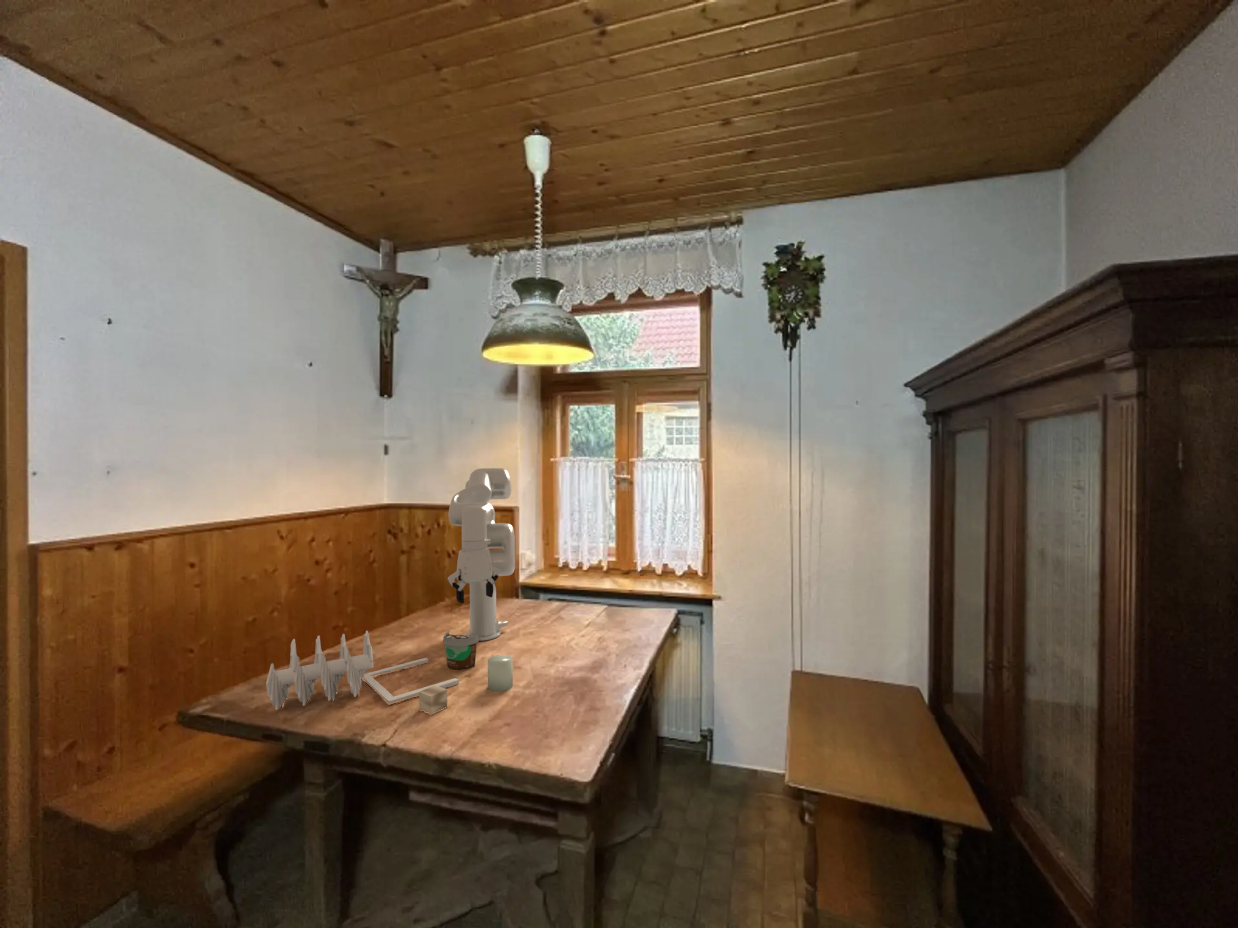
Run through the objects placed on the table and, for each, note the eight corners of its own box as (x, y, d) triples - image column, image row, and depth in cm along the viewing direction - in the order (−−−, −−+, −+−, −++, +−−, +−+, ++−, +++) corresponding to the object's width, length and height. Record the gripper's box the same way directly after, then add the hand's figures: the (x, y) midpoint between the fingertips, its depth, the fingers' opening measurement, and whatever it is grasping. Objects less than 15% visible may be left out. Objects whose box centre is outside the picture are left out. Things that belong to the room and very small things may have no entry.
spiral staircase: (276, 716, 145) (376, 694, 155) (261, 714, 131) (372, 691, 141) (277, 647, 152) (372, 631, 162) (263, 638, 137) (369, 621, 147)
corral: (425, 661, 174) (425, 657, 174) (458, 683, 156) (458, 679, 156) (360, 678, 160) (360, 674, 160) (388, 705, 142) (388, 701, 142)
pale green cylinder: (504, 679, 159) (504, 652, 159) (517, 686, 154) (517, 659, 154) (483, 686, 154) (483, 659, 154) (495, 694, 149) (495, 665, 149)
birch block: (434, 703, 144) (434, 684, 144) (447, 707, 141) (446, 689, 141) (419, 710, 140) (418, 691, 140) (431, 715, 137) (431, 696, 137)
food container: (434, 668, 168) (434, 637, 168) (447, 661, 173) (447, 631, 173) (466, 674, 163) (466, 641, 163) (478, 666, 169) (478, 635, 169)
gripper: (493, 540, 174) (494, 591, 175) (442, 547, 163) (443, 602, 163) (505, 543, 169) (505, 596, 169) (453, 550, 157) (454, 607, 158)
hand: (475, 599), depth 166 cm, fingers open, 9 cm apart
